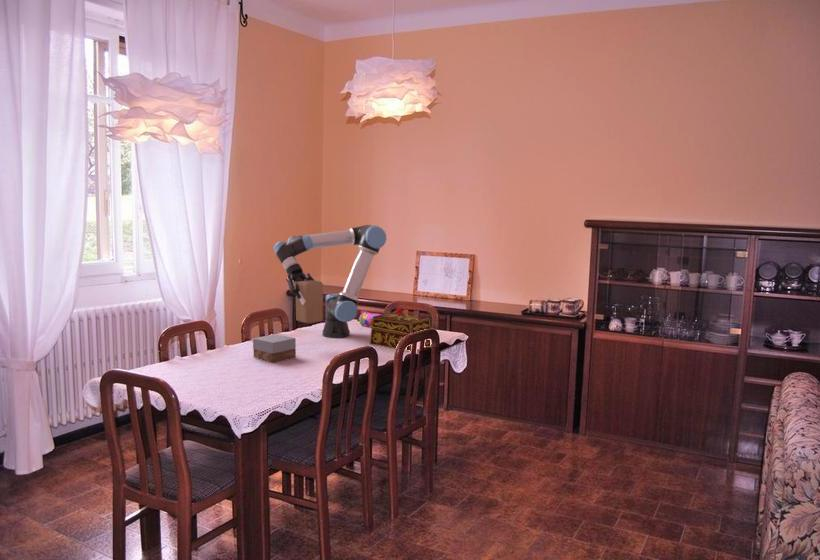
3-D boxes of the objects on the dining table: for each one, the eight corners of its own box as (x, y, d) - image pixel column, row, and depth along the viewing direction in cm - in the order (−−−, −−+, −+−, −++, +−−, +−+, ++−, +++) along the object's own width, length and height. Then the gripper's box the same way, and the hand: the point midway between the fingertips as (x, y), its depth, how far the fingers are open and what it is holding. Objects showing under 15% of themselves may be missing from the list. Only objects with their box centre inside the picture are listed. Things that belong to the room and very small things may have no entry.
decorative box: (369, 344, 347) (369, 316, 345) (391, 338, 362) (391, 311, 360) (411, 352, 331) (411, 323, 329) (432, 346, 346) (433, 318, 344)
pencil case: (356, 326, 394) (356, 311, 393) (367, 324, 401) (367, 309, 400) (381, 331, 379) (382, 316, 378) (393, 329, 386) (393, 314, 385)
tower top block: (253, 348, 312) (253, 338, 311) (275, 344, 323) (275, 333, 322) (272, 353, 303) (272, 342, 302) (295, 348, 314) (295, 338, 314)
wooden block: (311, 318, 335) (311, 279, 333) (323, 321, 328) (323, 281, 326) (295, 321, 328) (294, 281, 326) (307, 324, 321) (306, 283, 319)
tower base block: (253, 358, 313) (253, 348, 312) (277, 353, 324) (277, 343, 323) (271, 364, 304) (271, 353, 303) (295, 358, 314) (295, 348, 314)
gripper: (306, 270, 344) (327, 303, 336) (271, 274, 327) (291, 309, 318) (313, 261, 340) (334, 294, 331) (277, 264, 322) (298, 299, 314)
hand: (313, 301), depth 325 cm, fingers closed on wooden block, 10 cm apart
